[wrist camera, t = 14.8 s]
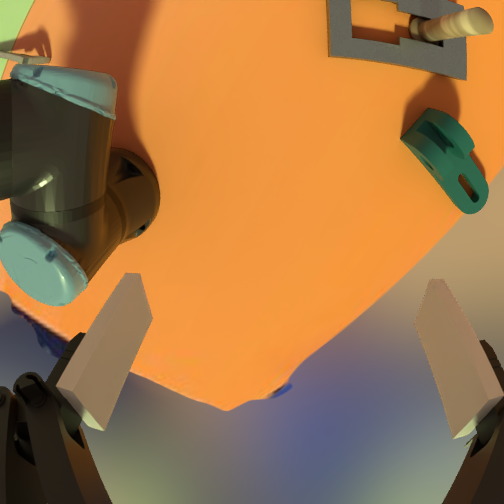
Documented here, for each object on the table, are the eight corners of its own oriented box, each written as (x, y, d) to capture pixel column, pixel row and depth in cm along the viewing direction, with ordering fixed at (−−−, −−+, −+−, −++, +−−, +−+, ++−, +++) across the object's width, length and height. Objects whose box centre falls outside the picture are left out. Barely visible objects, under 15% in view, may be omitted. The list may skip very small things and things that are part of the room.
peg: (409, 44, 30) (465, 34, 17) (407, 14, 28) (461, -8, 15) (438, 51, 30) (500, 48, 17) (437, 22, 27) (497, 8, 15)
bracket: (399, 138, 38) (422, 151, 31) (427, 107, 35) (454, 115, 28) (462, 216, 42) (485, 238, 36) (487, 189, 39) (513, 208, 33)
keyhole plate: (328, 56, 33) (330, 55, 31) (324, -21, 27) (327, -26, 25) (458, 79, 31) (466, 80, 29) (456, 8, 25) (463, 6, 23)
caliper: (53, 57, 34) (28, 58, 29) (51, 63, 35) (26, 65, 29) (-11, 49, 31) (-33, 52, 26) (-12, 54, 32) (-34, 57, 26)
